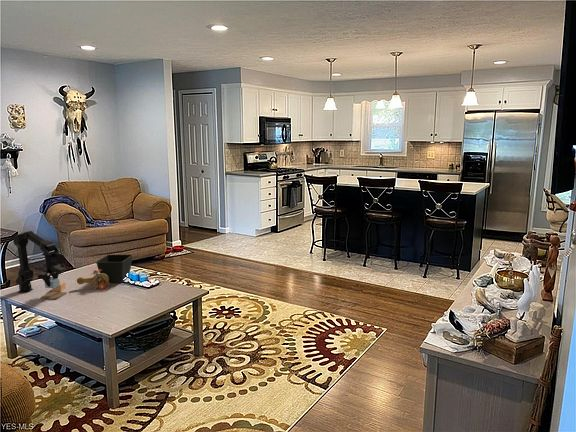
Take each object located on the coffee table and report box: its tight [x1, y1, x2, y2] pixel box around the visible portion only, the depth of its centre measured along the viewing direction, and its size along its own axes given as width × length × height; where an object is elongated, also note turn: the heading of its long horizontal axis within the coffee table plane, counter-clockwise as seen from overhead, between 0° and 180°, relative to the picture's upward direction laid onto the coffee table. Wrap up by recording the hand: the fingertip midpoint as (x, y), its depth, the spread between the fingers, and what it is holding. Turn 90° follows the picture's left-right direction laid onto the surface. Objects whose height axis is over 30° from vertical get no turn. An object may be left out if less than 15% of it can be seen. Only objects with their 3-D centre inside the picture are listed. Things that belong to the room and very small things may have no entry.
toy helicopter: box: [76, 269, 110, 291], centre depth 295 cm, size 8×21×14 cm, turn 97°
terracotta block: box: [51, 281, 67, 292], centre depth 294 cm, size 6×6×4 cm
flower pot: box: [95, 254, 133, 284], centre depth 312 cm, size 19×19×17 cm
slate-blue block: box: [44, 278, 61, 289], centre depth 280 cm, size 6×6×4 cm
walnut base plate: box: [39, 291, 67, 301], centre depth 282 cm, size 11×11×1 cm
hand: (52, 285), depth 281 cm, fingers closed on slate-blue block, 6 cm apart
